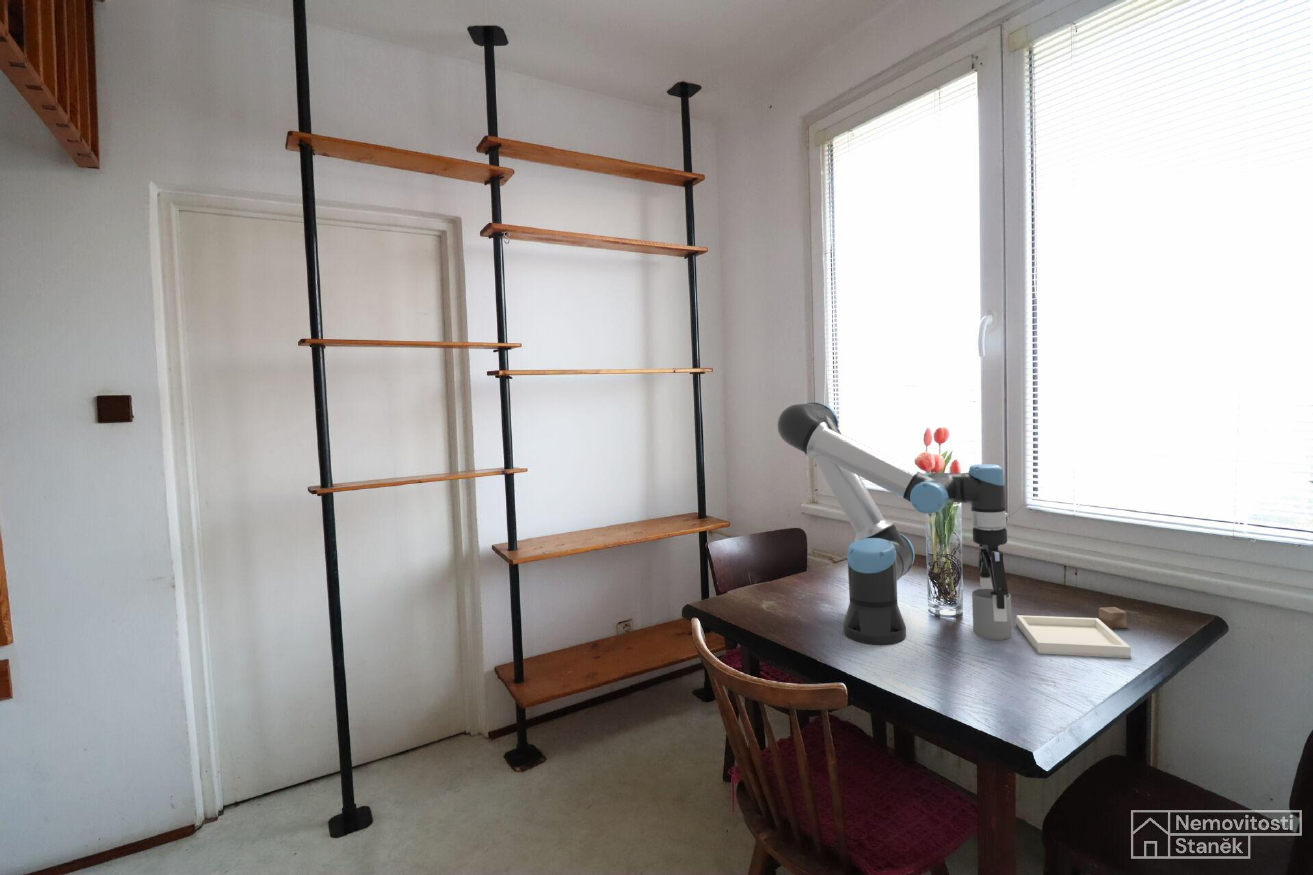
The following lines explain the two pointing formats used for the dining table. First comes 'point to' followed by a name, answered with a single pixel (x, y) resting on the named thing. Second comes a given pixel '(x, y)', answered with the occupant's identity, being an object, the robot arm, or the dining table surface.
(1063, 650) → the tray
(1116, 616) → the walnut block
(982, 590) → the cup
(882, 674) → the dining table surface
